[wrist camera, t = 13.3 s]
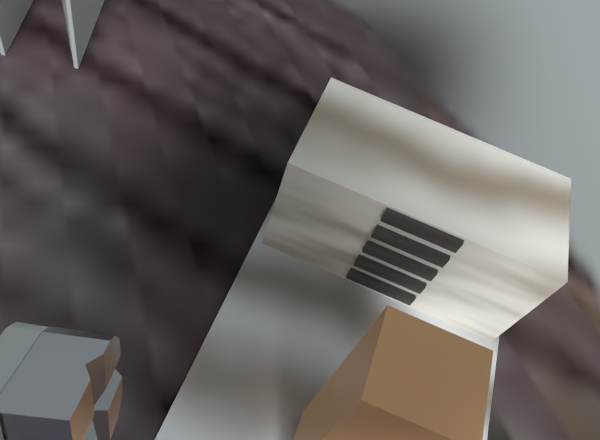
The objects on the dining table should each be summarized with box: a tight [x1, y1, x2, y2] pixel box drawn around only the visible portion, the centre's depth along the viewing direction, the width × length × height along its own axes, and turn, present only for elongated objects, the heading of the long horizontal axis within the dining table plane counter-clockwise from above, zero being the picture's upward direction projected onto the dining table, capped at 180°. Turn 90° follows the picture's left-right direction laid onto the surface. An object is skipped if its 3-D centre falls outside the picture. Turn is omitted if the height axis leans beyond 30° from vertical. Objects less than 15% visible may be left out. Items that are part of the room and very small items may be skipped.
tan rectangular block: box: [293, 305, 493, 440], centre depth 23 cm, size 4×4×13 cm
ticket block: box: [155, 78, 571, 440], centre depth 31 cm, size 22×17×9 cm
